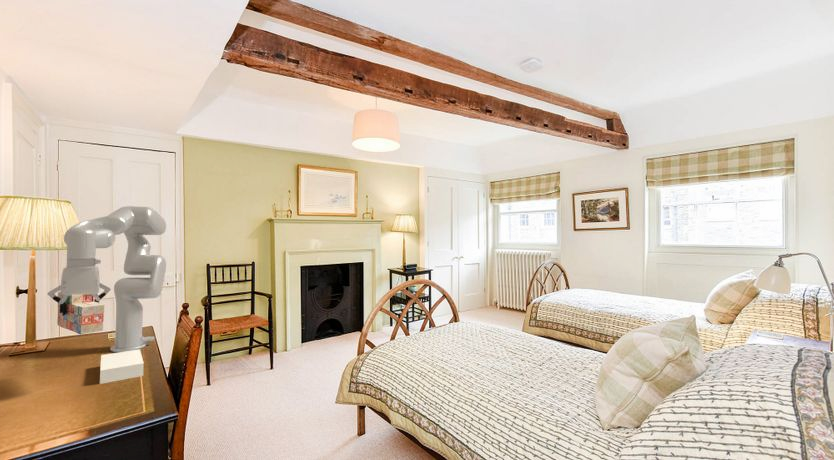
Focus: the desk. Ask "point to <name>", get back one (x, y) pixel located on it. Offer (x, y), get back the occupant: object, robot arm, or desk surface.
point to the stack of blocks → (81, 314)
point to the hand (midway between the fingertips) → (79, 312)
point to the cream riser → (121, 366)
